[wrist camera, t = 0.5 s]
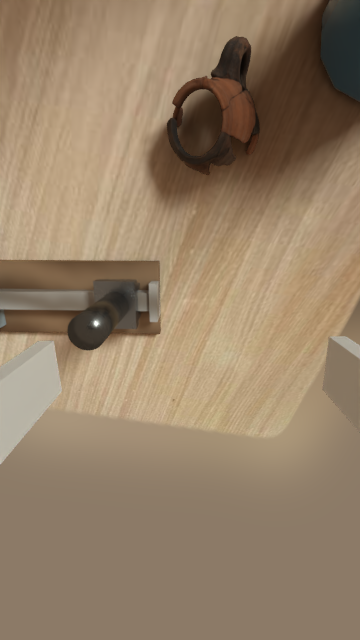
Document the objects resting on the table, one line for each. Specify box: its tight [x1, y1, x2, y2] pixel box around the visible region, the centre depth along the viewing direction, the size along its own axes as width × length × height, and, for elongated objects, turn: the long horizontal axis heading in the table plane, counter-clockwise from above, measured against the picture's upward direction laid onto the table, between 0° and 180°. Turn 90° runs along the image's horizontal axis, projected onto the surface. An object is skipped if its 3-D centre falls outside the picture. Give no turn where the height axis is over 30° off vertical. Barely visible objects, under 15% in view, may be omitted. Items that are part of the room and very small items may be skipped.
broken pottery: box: [167, 36, 260, 175], centre depth 31 cm, size 12×10×8 cm
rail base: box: [0, 260, 161, 334], centre depth 37 cm, size 10×26×7 cm, turn 90°
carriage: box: [67, 279, 141, 350], centre depth 32 cm, size 6×5×14 cm
